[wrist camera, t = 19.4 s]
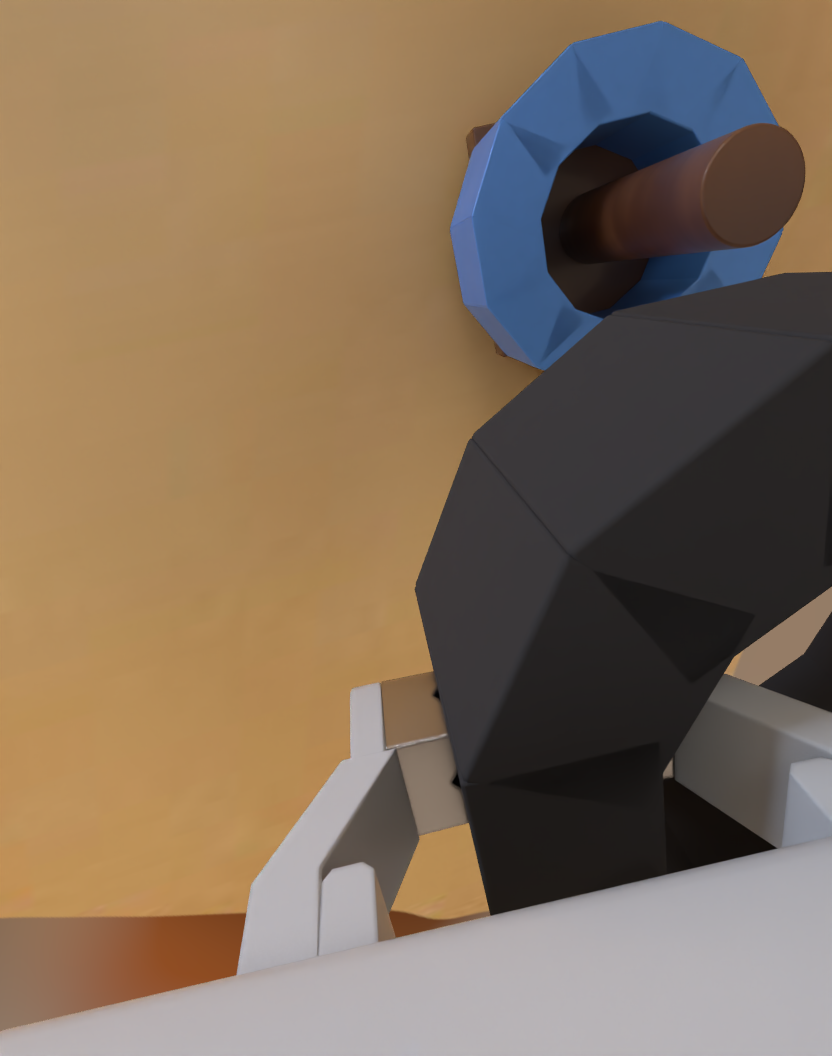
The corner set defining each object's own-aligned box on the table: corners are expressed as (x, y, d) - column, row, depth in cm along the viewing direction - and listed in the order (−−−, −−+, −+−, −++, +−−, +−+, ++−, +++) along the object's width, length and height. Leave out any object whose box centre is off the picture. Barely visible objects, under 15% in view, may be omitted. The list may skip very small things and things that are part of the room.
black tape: (363, 367, 9) (379, 440, 5) (1022, 219, 10) (1584, 166, 5) (473, 841, 14) (533, 1100, 10) (922, 730, 14) (1182, 932, 10)
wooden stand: (465, 136, 25) (566, 2, 13) (672, 92, 25) (951, -78, 13) (495, 354, 28) (596, 398, 17) (676, 314, 28) (900, 331, 17)
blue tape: (428, 115, 23) (446, 73, 19) (704, 46, 23) (788, -12, 19) (480, 395, 27) (505, 416, 23) (712, 336, 27) (781, 346, 23)
